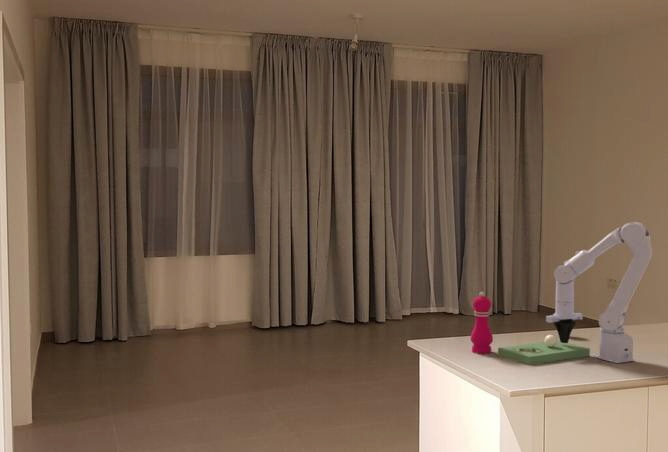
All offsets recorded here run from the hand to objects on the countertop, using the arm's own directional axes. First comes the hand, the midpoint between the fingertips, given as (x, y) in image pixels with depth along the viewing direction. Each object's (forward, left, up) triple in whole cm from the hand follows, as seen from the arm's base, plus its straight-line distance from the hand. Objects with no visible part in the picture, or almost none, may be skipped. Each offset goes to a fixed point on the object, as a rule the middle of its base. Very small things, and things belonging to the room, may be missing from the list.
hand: (564, 342), depth 220 cm
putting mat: (0, +9, -3) cm, 10 cm away
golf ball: (0, +6, +1) cm, 6 cm away
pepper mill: (+14, +23, -4) cm, 27 cm away
